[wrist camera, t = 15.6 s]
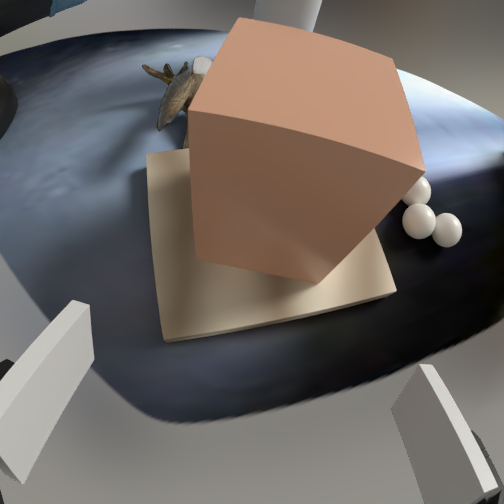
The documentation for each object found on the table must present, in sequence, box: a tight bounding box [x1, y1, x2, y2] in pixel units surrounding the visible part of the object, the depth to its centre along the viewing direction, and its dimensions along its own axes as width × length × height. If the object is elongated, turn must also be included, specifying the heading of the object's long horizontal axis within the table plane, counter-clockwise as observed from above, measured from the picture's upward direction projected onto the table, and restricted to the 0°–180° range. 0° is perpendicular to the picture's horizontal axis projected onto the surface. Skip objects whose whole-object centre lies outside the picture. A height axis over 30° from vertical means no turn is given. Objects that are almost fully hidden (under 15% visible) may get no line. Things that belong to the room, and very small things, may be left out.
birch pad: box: [146, 148, 397, 343], centre depth 22 cm, size 16×14×2 cm
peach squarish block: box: [188, 18, 426, 284], centre depth 16 cm, size 8×8×12 cm
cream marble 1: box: [402, 176, 431, 206], centre depth 25 cm, size 3×3×3 cm
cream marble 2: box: [402, 203, 436, 239], centre depth 23 cm, size 3×3×3 cm
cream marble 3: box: [432, 213, 462, 247], centre depth 24 cm, size 3×3×3 cm
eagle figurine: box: [142, 56, 212, 149], centre depth 24 cm, size 8×7×9 cm
